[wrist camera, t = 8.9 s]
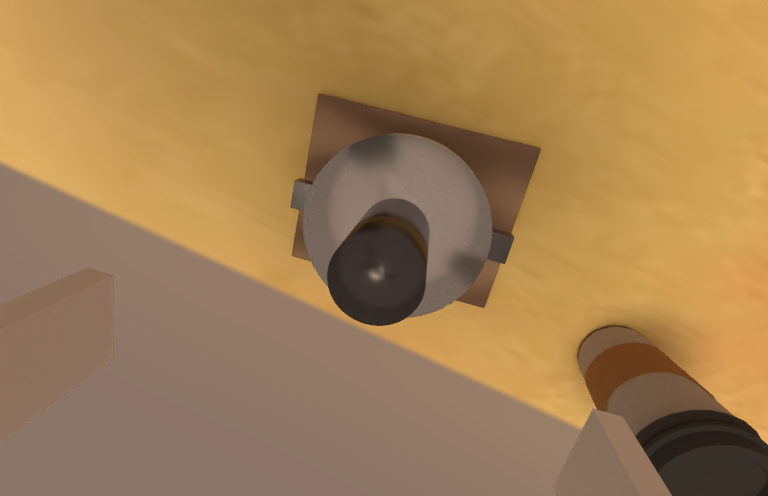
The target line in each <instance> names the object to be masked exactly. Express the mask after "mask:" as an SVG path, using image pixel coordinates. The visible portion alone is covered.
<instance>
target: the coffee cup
mask: <svg viewBox="0 0 768 496" xmlns="http://www.w3.org/2000/svg"><path fill="white" fill-rule="evenodd" d="M578 363H579V366H580V370H581V372H582V374H583V376H584V378H585V382H586V385H587V388H588V390H589V392H590V394H591V397H592V399H593V401H594V403H595V406H596V408H597V410H600V411H604V412H607V413H611V414H614V415H618V416H622V417H623V418H624V419H625V421H626V423H627V424H628V426H629V428H630V429H631V431H632V432H633V434H634V436H635V437H636V439H637V440H638V442H639V444H640V445H641V447H642V448H643V450H644V452H645V453H646V455H647V456H648V458H649V460H650V461H651V463H652V464H653V466H654V468H655V469H656V471H657V472H658V474H659V476H660V477H661V479H662V480H663V482H664V484H665V485H666V487H667V488H668V490H669V492H670V493H671V495H672V496H768V445H767V444H766V443H765V442H764V441H763V440H762V439H761V438H760V436H759V435H758V433H757V431H756V430H754V429H753V428H752V427H751V426H750V425H748V424H747V423H746V422H745V421H743V420H741V419H739V418H737V417H735V416H733V415H732V414H731V413H730V412H729V411H728V410H727V409H725V408H724V407H723V406H722V405H721V404H720V403H719V402H717V401H716V399H715V398H714V397H713V395H711V394H710V393H709V392H708V391H707V390H706V389H704V388H703V387H702V386H701V385H700V384H699V383H698V382H696V381H695V380H694V379H693V378H692V377H691V376H689V375H688V374H687V373H686V372H685V371H684V370H682V369H681V368H680V367H679V366H678V365H677V364H676V363H674V362H673V361H672V360H671V359H670V358H669V357H667V356H666V355H665V354H664V353H663V352H662V351H660V350H659V349H658V348H657V347H655V346H653V345H652V344H651V343H650V342H649V341H648V340H646V339H645V338H644V337H643V336H642V335H641V334H639V333H638V332H636V331H634V330H631V329H628V328H622V327H607V328H603V329H599V330H597V331H595V332H593V333H592V334H591V335H589V336H588V337H587V338H586V339H585V341H584V342H583V343H582V345H581V348H580V351H579V354H578Z"/></svg>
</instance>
